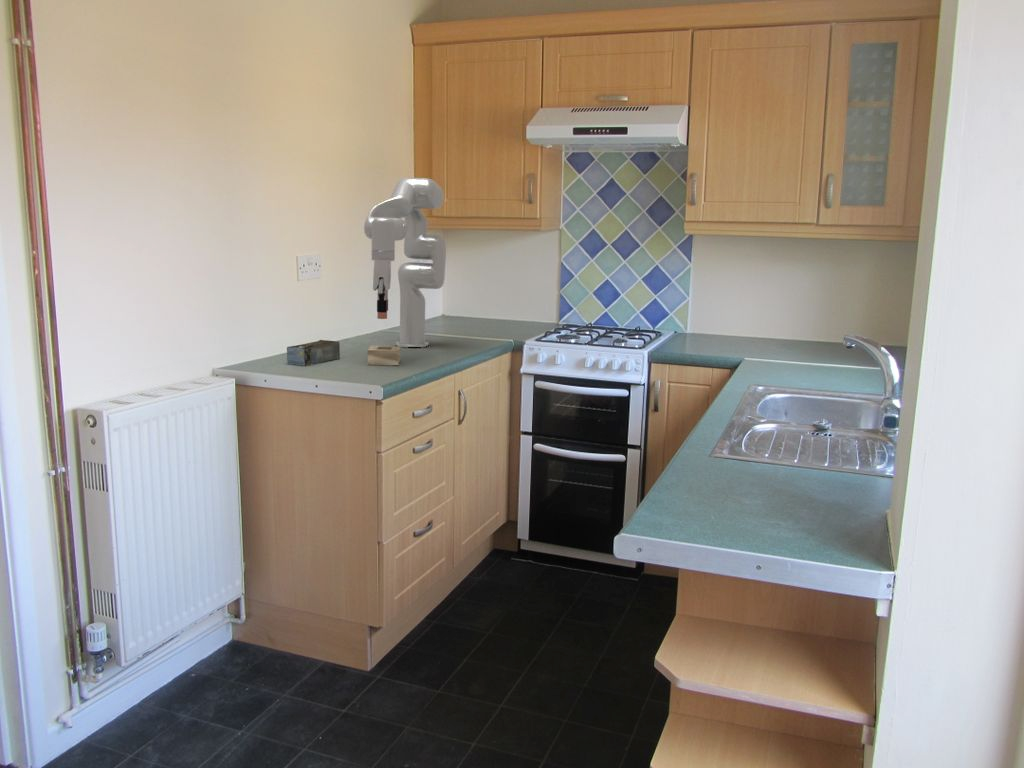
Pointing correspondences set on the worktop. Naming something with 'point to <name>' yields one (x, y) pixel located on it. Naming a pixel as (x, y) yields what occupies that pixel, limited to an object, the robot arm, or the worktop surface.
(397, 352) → the socket block
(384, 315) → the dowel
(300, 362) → the weathered blue-grey brick
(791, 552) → the worktop surface
